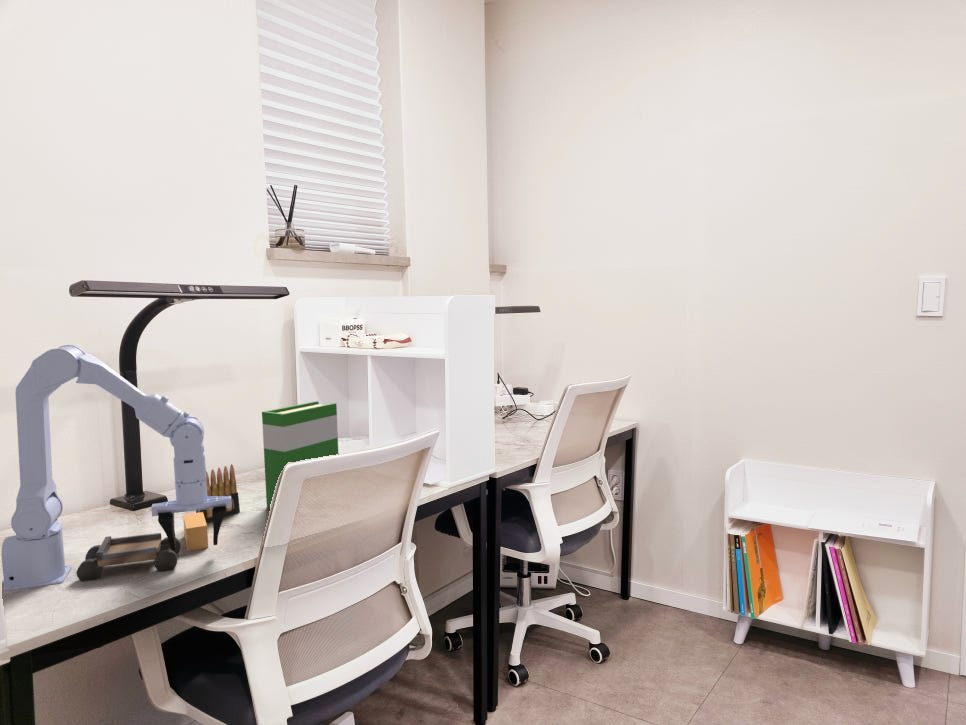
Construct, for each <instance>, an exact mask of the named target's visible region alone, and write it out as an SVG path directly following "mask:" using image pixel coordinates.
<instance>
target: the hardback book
mask: <svg viewBox="0 0 966 725" xmlns="http://www.w3.org/2000/svg"><path fill="white" fill-rule="evenodd" d="M337 413H338V406H337V403H336V402H333V403H327V404H320V403H319V401H317V400H315V401H309V402H305V403H299V404H295V405H290V406H289V405H288V406H285V407H279V408H275V409H271V410H269V409H268V410H265V411H261V422H262V424H261V425H262V438H263V439H262V440H263V456H264V457H263V458H264V462H263V463H264V476H265V480H264V481H265V495H266V496H265V499H266V500H265V501H266V508H267V509H269V508H270V504H271V501H272V497H273V494H274V490H275V486H276V483H277V480H278V477H279V475H280V473H281V471H282V470H283V468H284V466H285V465H286V464H287V463H288V462H296V461H300V460H305V459H311V458H318V457H323V456H329V455H336V454H338V455H339V440H338V439H339V438H338V434H339V433H338V432H339V431H338V414H337Z"/></svg>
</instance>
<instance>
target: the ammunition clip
mask: <svg viewBox="0 0 966 725" xmlns="http://www.w3.org/2000/svg"><path fill="white" fill-rule="evenodd" d="M206 482H207V497H211V496H231V502H232V507H231V508H226V513H225V516H224V518H227V517H230V516H234V515H236V514H237V515H238V514H239V513H240V512H241V510H240V498H239V492H238V489H237V488H238V487H237V480H236V473H235V468H234V465H233V464H230V466H229V471H228V467H227V466H226V465H225V466H224V467H223V473H222V470H221V468H220V467H218V468H217V472H215V470H214V469H213V468H212V469H211V471H210V477H209V473H208V472H207V470H206ZM212 511H213V509H205V510H196V511H195V513H199V512H203V514H204V517H205V521H206V524H207V525H208V524H209V523H213V517H212ZM224 518H223V519H224Z"/></svg>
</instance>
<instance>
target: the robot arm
mask: <svg viewBox="0 0 966 725" xmlns="http://www.w3.org/2000/svg"><path fill="white" fill-rule="evenodd" d="M75 378H76V381H75V384H84V385H85V384H86V385H96V386H97V387H98V386H99V387H100V388H101V389H103V390H105V391H106V392H108V393H110V394H111V395H112V396H114V397H115V398H117V399H119V400H121V401H122V402H124V403H125V404H127V405H129V406H130V407H131V408H133V409H134V412H135V417H136V420H137V419H138V420H139V421H140V422H141V423H142V424H143V423H144V424H145V425H147V427H149V428H151V429H152V430H154V431H155V432H157V433H158V434H160V435H161V436H163V437H164V438H169V441H170V445H171V446H172V447H173V452H174V455H173V456H174V457H173V472H174V484H175V499H174V500H169V501H164V502H158V503H152V505H151V517H157V518H158V519H157V521H158V524H159V525H160V527H161V528H162V529H163V531H164V533H165V535H166V537H168V539H169V542H170V545H171V549H172V551H173V550H176V538H177V537H176V531H175V513H176V514H177V513H186V512H194V511H195V512H196V510H205V509H213V511H212V517H213V522H212V527H213V528H212V529H213V538H212V539H213V541H212V542H213V546H218V541H219V540H218V539H219V534H220V529H221V526H222V522H223V520H224V516H225V513H226V508H231V507H232V502H231V496H211V497H207V482H206V471H207V469H206V468H207V467H206V466H207V465H206V456H205V455H206V454H205V453H204V452H205V446H204V443H203V442H204V439H205V429H204V425H203V423H202V422H201V421H200V420H199V419H198V417H196V416H192V415H190V413H189V412H188V411H186V410H185V411H184V412H183V411H182V410H180V409H179V408H178V407H176V406H175V405H174V404H172V403H171V402H169V400H170V398H169V397H168V396H167V395H164V394H163V395H162V396H160V395H159V394H158V393H152V394H146V393H144V392H143V391H141V390H140V389H139V388H138V387H136V385H134V384H132V383H131V382H130V381H129V380H127V379H125V377H123V376H122V375H121V374H119V373H118V372H116V371H115V370H114V369H112V368H111V367H110V366H108V365H107V364H106V363H104V362H103V361H102V360H100V359H99V358H97V357H96V356H94V355H93V354H90V353H86V352H85V351H84V349H82V348H80V347H79V346H76V345H73V344H65V345H64V344H63V345H60V346H59V347H57V348H52V349H48V350H46V351H45V352H44V353H41V355H39V356H37V357H36V358H35V359H33V360H32V362H31V364H30V366H29V368H28V370H27V371H26V372H25V374H24V376H23V377H22V378H21V380H20V381H19V382H18V384H17V386H16V387H15V408H16V411H15V412H16V427H17V430H16V431H17V449H18V465H19V466H18V467H19V484H20V486H19V489H18V493H17V496H16V498H15V499H16V500H15V503H16V504H15V505H16V506H15V511H14V513H13V515H12V516H11V519H10V526H11V528H12V530H13V532H14V533H15V535H10V536H6V537H4V539H3V542H2V544H1V545H2V546H1V551H0V552H1V554H0V555H1V565H2V566H1V569H2V576H3V590H2V591H11V590H18V589H19V590H20V589H28V588H34V587H43V586H50V585H57V584H58V585H59V584H62V583H64V582H65V581H66V578H67V577H68V575H69V574H70V572H71V570H72V568H73V565H71V564H70V565H66V560H65V559H66V558H65V548H64V537H63V526H62V525H61V524H60V523H59V520H58V519H59V517H60V516H61V515H62V513H63V508H64V506H63V502H62V500H61V498H60V497H59V495H58V491H57V485H56V482H55V481H54V480H53V479H54V478H53V469H52V468H53V465H52V446H51V444H52V443H51V428H50V427H51V425H50V424H51V422H50V404H49V397H50V396H51V395H52V394H53V393H54V392H55V391H56V390H59V388H60V387H62V386H63V385H65V384H66V383H68V382H69V381H71V380H73V379H75Z"/></svg>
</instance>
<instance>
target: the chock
mask: <svg viewBox="0 0 966 725" xmlns="http://www.w3.org/2000/svg"><path fill="white" fill-rule="evenodd" d="M182 518H183V520H182V521H183V535H184V540H185V545H186V550H187V552H189V551H195V550H201V549H202V550H203V549H208V548H209V537H208V536H209V534H208V523H207V524H206V521H205V517H204V514H203V512H199V513H196V512H193V513H186V514H183V515H182Z"/></svg>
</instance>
